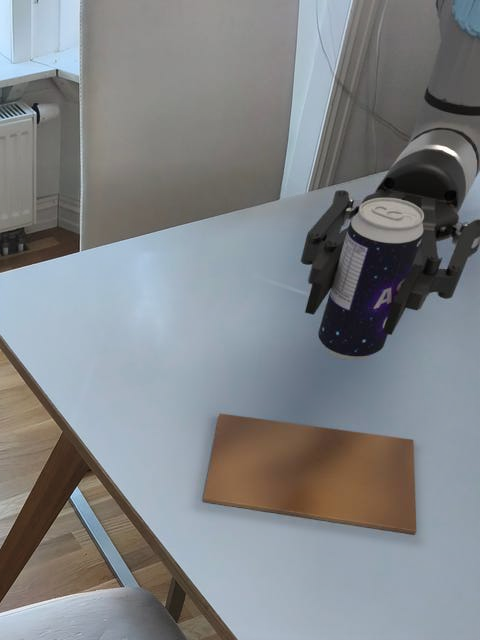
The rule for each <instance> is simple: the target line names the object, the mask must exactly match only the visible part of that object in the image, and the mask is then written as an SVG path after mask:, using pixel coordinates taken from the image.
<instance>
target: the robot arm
mask: <svg viewBox="0 0 480 640" xmlns="http://www.w3.org/2000/svg"><path fill="white" fill-rule="evenodd" d="M435 7H436V13H437V14H436V15H437V18H438V21H439V22H438V25H439V34H440V35H439V36H440V43H439V47H438V51H437V54H436V57H435V60H434V64H433V67H432V71H431V74H430V77H429V81H428V85H427V87H426V89H425V93H424V96H423V99H422V101H421V104H420V108H419V112H418V114H417V118H416V121H415V124H414V127H413V130H412V133H411V136H410V138H409V140H408V142H407V144H406V145H405V146H404V149H402V151H401V152H400V154H399V155H398V157H397V158H396V160H395V161H394V162H393V164H392V165H391V167H390V168H389V169H388V172H387V173H386V174H385V176H384V177H383V179H382V180H381V181H380V183H379V184H378V186H377V188H376V189H375V191H374V192H373V193H371V194H368V195H367V196H365V197H364V198H363V200H355V198H354V197H350V194H349V192H348V191H347V190H344V189H338V190H336V191H335V192H334V196H333V199H332V202H331V205H330V207H329V208H328V209H327V210H326V211H325V212H324V213H323V214H322V215H321V217H320V218H319V219H318V220H317V222H316V223H315V224H314V225H313V226H312V227H311V229H310V230H309V231H308V232H307V234H306V238H305V242H304V245H303V250H302V253H301V258H300V262H301V264H303V265H307V266H311V267H310V269H309V270H310V271H309V275H308V278H307V282H308V284H309V285H311V288H310V292H309V295H308V299H307V303H306V307H305V311H304V313H306V314H308V315H315V314H316V312H317V311H318V309H319V307H321V305H322V303H323V302H324V300H325V298H326V297H327V295H328V293H330V290H331V287H332V283H333V280H334V276H335V273H336V269H337V266H338V262H339V259H340V255H341V252H342V248H343V245H344V241H345V238H346V234H347V231H348V227H347V226H348V224H349V221H351V220H352V219H353V217H354V216H355V215H356V214H357V213H358V212H359V208H360V206H361V205H362V204H363V203H364V202H366V201H368V200H371V199H375V198H395V199H400V200H404V201H408V202H410V203H412V204H414V205H416V206H418V207H419V208H420V209H421V210H422V211H423V213H424V219H423V221H422V224H423V230H424V234H423V237H422V240H421V243H420V246H419V248H418V251H417V254H416V257H415V260H414V262H413V265H412V268H411V271H410V272H409V273H408V275H407V277H406V279H405V281H404V282H403V284H402V286H401V288H400V289H399V291H398V293H397V295H396V297H395V298H394V300H393V302H392V305H391V308H390V311H389V314H388V317H387V320H386V322H385V325H384V328H383V331H382V333H386V334H388V335H389V336H392V335H393V333H394V332H395V329H396V327H397V325H398V324H399V322H400V320H401V318H402V316H403V315H404V312H405V310H406V309H407V310H408V309H409V310H413V311H415V312H416V311H419V310H420V309H422V307H423V305H424V303H425V301H426V299H427V298H428V296H429V295H430V294H431V293H437V296H438V297H440V298H442V299H445V300H447V299H451V298H453V296H454V294H455V291H456V289H457V286H458V283H459V281H460V278H461V276H462V274H463V272H464V269H465V266H466V264H467V261H468V258H470V257H471V256H473V255H475V253H477V252H478V250H479V247H480V219H474V220H473V221H471V222H470V223H469V222H466V221H465V222H460V221H459V219H460V216H459V214H458V213H459V211H460V210H461V208H462V206H463V204H464V202H465V200H466V198H467V196H468V195H469V192H470V191H471V189H472V187H473V185H474V183H475V181H476V178H477V177H478V175H479V174H480V0H435ZM343 227H346V228H344V229H343V230H342V228H343ZM450 238H452V240H451V243H452V244H453V247H452V251H453V252H452V255H451V257H450V260H449V263H448V265H447V267H446V268H440V266H441V263H442V260H443V257H439V253H438V246H437V245H438V244H437V242H441V241H444V240H448V239H450Z"/></svg>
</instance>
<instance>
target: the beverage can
mask: <svg viewBox="0 0 480 640" xmlns="http://www.w3.org/2000/svg"><path fill="white" fill-rule="evenodd" d="M423 219H424V213H423V211H422V210H421V209H420V208H419V207H418V206H416V205H414V204H412V203H410V202H408V201H404V200H400V199H395V198H375V199H371V200H368V201H366V202H364V203H363V204H362V205H361V206H360V208H359V212H358V213H357V214H356V215H355V216H354V217H353V218H352V219H351V220H349V221H350V222H349V223H348V224H349V225H348V227H347V228H348V231H347V234H346V238H345V241H344V245H343V248H342V252H341V255H340V259H339V262H338V266H337V269H336V273H335V276H334V280H333V283H332V287H331V289H330V291H329V295H328V297H327V301H326V305H325V308H324V311H323V315H322V319H321V321H320V326H319V329H318V332H317V336H318V339H319V341H320V343H321V344H322V345H323V346H324V348H325V350H326V351H327V352H328V353H329V354H330V355H332V356H334V357H336V358H338V359H341V360H347V361H360V360H364V359H367V358H369V357H370V356H372V355H375V354H376V353H378V352H380V351H382V350H383V348H384V346H385V344H386V341H387V338H388V336H389V334H386V333H382V331H383V328H384V325H385V322H386V320H387V317H388V314H389V311H390V308H391V305H392V302H393V300H394V298H395V297H396V295H397V293H398V291H399V289H400V288H401V286H402V284H403V282H404V281H405V279H406V277H407V275H408V273H409V272H410V271H411V268H412V265H413V262H414V260H415V257H416V254H417V251H418V248H419V246H420V243H421V240H422V237H423V234H424V230H423V224H422V221H423Z"/></svg>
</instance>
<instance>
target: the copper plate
mask: <svg viewBox="0 0 480 640" xmlns="http://www.w3.org/2000/svg"><path fill="white" fill-rule="evenodd" d="M414 445H415V444H414V439H413V438H412V439H411V438H403V437H396V436H390V435H381V434H375V433H373V434H372V433H367V432H359V431H351V430H344V429H339V428H338V429H337V428H331V427H322V426H316V425H308V424H302V423H293V422H288V421H287V422H286V421H279V420H273V419H272V420H271V419H263V418H256V417H249V416H241V415H234V414H227V413H219V414H218V418H217V425H216V430H215V434H214V440H213V445H212V449H211V450H212V451H211V455H210V456H211V457H210V461H209V465H208V472H207V477H206V483H205V488H204V494H203V499H202V502H204V503H207V504H215V505H221V506H227V507H234V508H241V509H248V510H253V511H254V510H255V511H259V512H260V511H261V512H266V513H273V514H280V515H286V516H292V517H293V516H294V517H299V518H305V519H313V520H319V521H326V522H332V523H338V524H344V525H350V526H357V527H364V528H369V529H370V528H371V529H375V530H376V529H377V530H383V531H389V532H397V533H402V534H410V535H416V533H417V509H416V508H417V506H416V505H417V504H416V477H415V476H416V475H415V473H416V471H415V446H414Z"/></svg>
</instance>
